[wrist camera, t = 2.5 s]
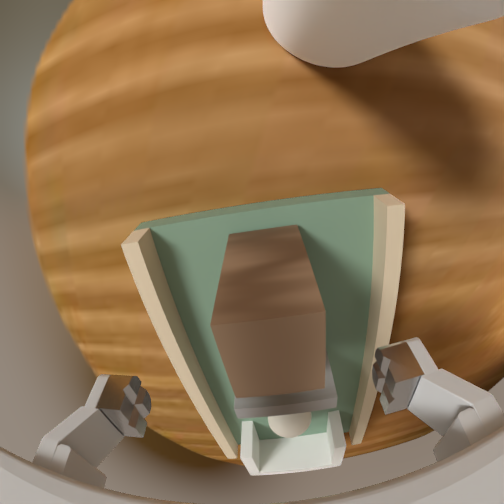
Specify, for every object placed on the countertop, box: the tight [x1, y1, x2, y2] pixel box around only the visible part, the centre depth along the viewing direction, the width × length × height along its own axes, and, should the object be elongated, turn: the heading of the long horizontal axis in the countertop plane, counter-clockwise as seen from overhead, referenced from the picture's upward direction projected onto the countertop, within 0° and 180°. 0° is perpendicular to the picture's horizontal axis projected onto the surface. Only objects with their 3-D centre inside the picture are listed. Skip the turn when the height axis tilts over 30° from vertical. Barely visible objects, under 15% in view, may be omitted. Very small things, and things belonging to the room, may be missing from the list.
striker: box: [210, 224, 337, 419], centre depth 14 cm, size 6×10×7 cm, turn 9°
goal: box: [240, 410, 346, 475], centre depth 22 cm, size 9×6×4 cm, turn 99°
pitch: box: [121, 188, 405, 458], centre depth 20 cm, size 14×25×3 cm, turn 9°
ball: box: [268, 412, 312, 438], centre depth 20 cm, size 4×4×4 cm
